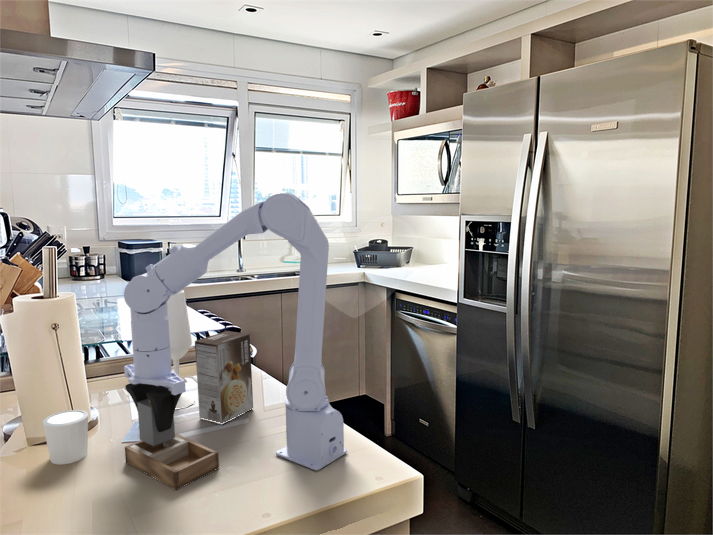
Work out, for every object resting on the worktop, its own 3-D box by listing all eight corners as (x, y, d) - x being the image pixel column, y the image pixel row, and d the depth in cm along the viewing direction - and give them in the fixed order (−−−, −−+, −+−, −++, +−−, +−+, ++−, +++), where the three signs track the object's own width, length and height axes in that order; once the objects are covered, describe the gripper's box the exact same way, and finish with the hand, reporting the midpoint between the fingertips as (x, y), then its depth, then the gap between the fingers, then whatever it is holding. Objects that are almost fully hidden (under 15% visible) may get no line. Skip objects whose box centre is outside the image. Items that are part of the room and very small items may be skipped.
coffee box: (230, 404, 116) (227, 329, 113) (254, 409, 112) (251, 333, 110) (198, 419, 108) (193, 340, 106) (222, 426, 105) (218, 344, 102)
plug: (175, 437, 92) (172, 394, 91) (153, 446, 89) (150, 401, 88) (161, 431, 94) (158, 389, 93) (139, 439, 91) (137, 396, 90)
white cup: (41, 469, 89) (37, 428, 88) (52, 450, 96) (48, 411, 95) (87, 463, 91) (83, 422, 90) (95, 444, 98) (92, 407, 97)
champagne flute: (176, 412, 111) (169, 296, 108) (154, 405, 115) (147, 293, 112) (201, 401, 117) (196, 290, 114) (180, 395, 121) (174, 288, 117)
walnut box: (219, 468, 89) (218, 452, 88) (176, 490, 82) (175, 472, 82) (168, 444, 97) (167, 429, 97) (125, 462, 91) (124, 446, 91)
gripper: (104, 344, 91) (110, 423, 92) (155, 360, 82) (160, 447, 84) (143, 335, 96) (148, 409, 98) (194, 349, 87) (198, 431, 89)
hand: (156, 426), depth 91 cm, fingers closed on plug, 4 cm apart
